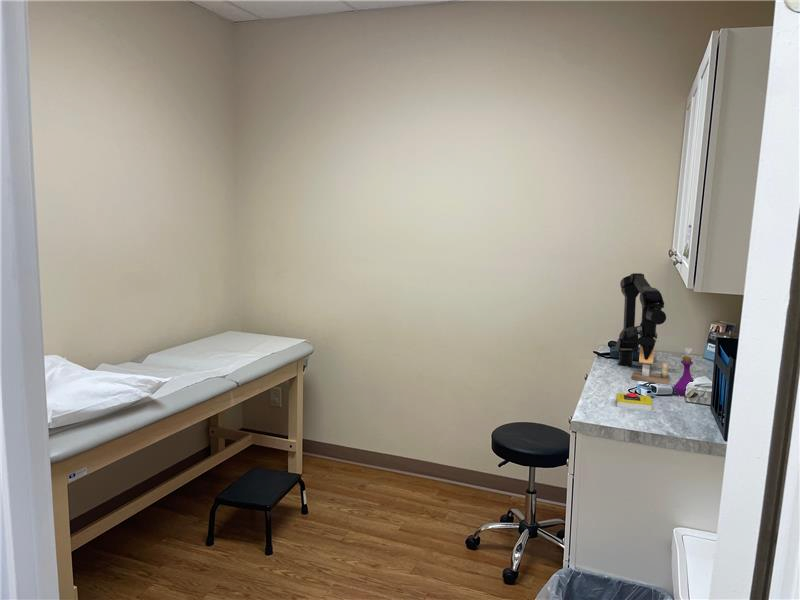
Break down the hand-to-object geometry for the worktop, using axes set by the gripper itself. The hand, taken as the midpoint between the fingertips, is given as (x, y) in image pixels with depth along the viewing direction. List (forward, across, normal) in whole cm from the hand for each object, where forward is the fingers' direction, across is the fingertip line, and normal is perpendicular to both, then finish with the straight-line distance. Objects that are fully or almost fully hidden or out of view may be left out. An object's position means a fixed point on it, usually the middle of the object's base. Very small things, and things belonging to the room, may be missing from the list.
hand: (646, 358), depth 236 cm
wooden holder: (+9, 0, +2) cm, 9 cm away
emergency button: (+9, +43, -1) cm, 44 cm away
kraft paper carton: (+2, 0, 0) cm, 2 cm away
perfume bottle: (+9, +20, +15) cm, 27 cm away
